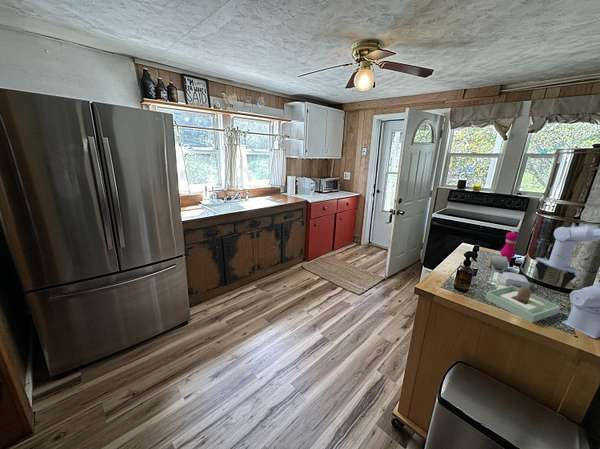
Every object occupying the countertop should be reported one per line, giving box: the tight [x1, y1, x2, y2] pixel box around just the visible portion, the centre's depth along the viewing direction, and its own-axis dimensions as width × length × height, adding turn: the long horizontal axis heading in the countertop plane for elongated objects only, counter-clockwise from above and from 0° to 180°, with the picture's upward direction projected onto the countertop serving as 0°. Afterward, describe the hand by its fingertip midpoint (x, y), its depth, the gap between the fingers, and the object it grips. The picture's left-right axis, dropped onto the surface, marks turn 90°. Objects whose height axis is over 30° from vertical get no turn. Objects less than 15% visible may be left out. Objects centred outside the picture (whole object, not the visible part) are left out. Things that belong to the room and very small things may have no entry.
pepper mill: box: [499, 229, 519, 263], centre depth 155 cm, size 7×7×20 cm
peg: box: [516, 287, 533, 305], centre depth 108 cm, size 4×4×8 cm
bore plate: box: [499, 291, 545, 314], centre depth 108 cm, size 11×11×3 cm
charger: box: [501, 271, 531, 289], centre depth 130 cm, size 5×9×15 cm
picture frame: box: [484, 285, 562, 324], centre depth 108 cm, size 18×18×4 cm
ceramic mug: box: [487, 255, 509, 274], centre depth 144 cm, size 11×8×8 cm
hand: (551, 283), depth 108 cm, fingers open, 7 cm apart
